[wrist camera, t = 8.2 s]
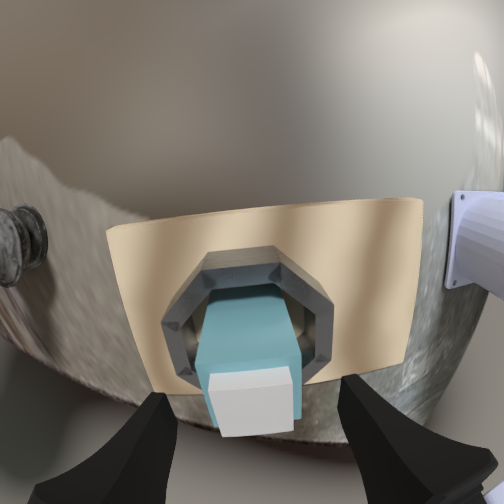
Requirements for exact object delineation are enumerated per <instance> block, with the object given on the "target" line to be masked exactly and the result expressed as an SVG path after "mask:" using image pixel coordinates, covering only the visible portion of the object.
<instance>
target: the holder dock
mask: <svg viewBox="0 0 504 504" xmlns="http://www.w3.org/2000/svg"><path fill="white" fill-rule="evenodd" d="M422 229H423V200H419V199H416V198H385V199H364V200H346V201H331V202H318V203H304V204H291V205H280V206H269V207H260V208H249V209H239V210H230V211H221V212H212V213H205V214H196V215H188V216H180V217H173V218H166V219H158V220H151V221H145V222H138V223H131V224H125V225H119V226H115V227H113V228H111V229H109V230H107V231H106V234H107V239H108V244H109V248H110V253H111V258H112V262H113V266H114V270H115V274H116V278H117V282H118V286H119V290H120V293H121V297H122V300H123V304H124V307H125V311H126V314H127V317H128V320H129V324H130V327H131V330H132V333H133V336H134V339H135V342H136V344H137V347H138V350H139V353H140V356H141V358H142V361H143V364H144V366H145V369H146V371H147V374H148V376H149V379H150V381H151V384H152V386H153V388H154V391H155V392H165V394H203V391H202V388H201V385H200V381H199V378H198V375H197V371H196V368H195V361H196V356H197V351H198V346H199V342H200V337H201V333H202V328H203V323H204V319H205V314H206V310H207V306H208V301H209V297H210V292H211V290H215V289H225V288H235V287H244V286H253V285H262V284H270V283H274V284H276V285H277V286H278V287H280V289H281V292H282V295H283V299H284V302H285V305H286V308H287V311H288V314H289V317H290V320H291V323H292V326H293V329H294V332H295V336H296V339H297V342H298V345H299V348H300V351H301V361H302V386H303V385H306V384H312V383H317V382H323V381H328V380H333V379H338V378H342V376H345V375H350V374H355V373H356V374H361V373H365V372H369V371H373V370H377V369H381V368H385V367H388V366H392V365H395V364H399V363H402V362H403V359H404V355H405V351H406V347H407V342H408V338H409V333H410V328H411V323H412V318H413V312H414V306H415V300H416V293H417V286H418V278H419V269H420V259H421V246H422Z"/></svg>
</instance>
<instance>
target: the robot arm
mask: <svg viewBox="0 0 504 504" xmlns="http://www.w3.org/2000/svg"><path fill="white" fill-rule="evenodd" d="M461 196H462V198H461ZM453 282H454V283H453ZM471 283H476V284H478V285H480V286H481V287H483V288H484V289H486V290H488V291H489V292H491V293H492V294H494V295H496V296H497V297H499V298H500V299H502V300H503V301H504V192H490V191H454V192H453V194H452V209H451V230H450V243H449V253H448V262H447V270H446V277H445V283H444V285H445V287H446V288H447V289H452V288H456V287H460V286H464V285H467V284H471ZM337 409H338V413H339V417H340V420H341V424H342V428H343V430H344V433H345V435H346V438H347V440H348V442H349V445H350V447H351V450H352V452H353V455H354V457H355V459H356V462H357V464H358V467H359V470H360V472H361V476H362V479H363V484H364V487H365V492H366V496H367V500H368V504H504V480H502V481H501V482H500V483H499V484H497V485H496V486H495V487H494V488H492V489H491V490H490V491H488V492H487V493H486V494H484V495H482V493H481V491H482V490H483V489H484V488H483V486H482V484H481V483H482V482H483V481H484V480H485V479H486V478H487V477H488V476H489V475H490V474H491V473H492V472H493V471H494V470H495V469H496V468H497V466H498V462H497V460H496V458H495V457H494V455H493V454H492V453H491V451H490V450H489V449H486V448H481V447H476V446H471V445H467V444H463V443H460V442H457V441H454V440H451V439H448V438H446V437H444V436H441V435H439V434H437V433H434V432H432V431H430V430H428V429H426V428H424V427H423V426H421V425H419V424H418V423H416V422H414V421H413V420H411V419H410V418H408V417H407V416H405V415H404V414H403V413H401V412H400V411H398V410H397V409H396V408H395V407H393V406H392V405H391V404H390V403H388V402H387V401H386V400H385V399H383V398H382V397H381V396H380V395H379V394H378V393H377V392H375V391H374V390H373V389H372V388H371V387H370V386H369V385H368V384H367V383H366V382H365V381H364V380H363V379H362V378H361V377H359V376H358V375H357V374H356V373H355V374H350V375H345V376H342V378H341V386H340V393H339V400H338V406H337ZM177 426H178V422H177V420H176V417H175V415H174V413H173V410H172V408H171V406H170V403H169V401H168V399H167V396H166V394H165V392H151V393H150V394H149V396H148V397H147V398H146V399H145V400H144V402H143V403H142V404H141V405H140V407H139V408H138V409H137V410H136V412H135V413H134V414H133V415H132V416H131V418H130V419H129V420H128V421H127V422H126V423H125V425H124V426H123V427H122V428H121V429H120V430H119V431H118V432H117V433H116V434H115V435H114V436H113V437H112V438H111V439H110V440H109V442H107V443H106V444H105V445H104V446H103V447H102V448H100V449H99V450H98V451H97V452H96V453H94V454H93V455H92V456H91V457H89V458H88V459H87V460H85V461H83V462H82V463H80V464H79V465H77V466H76V467H74V468H72V469H71V470H69V471H67V472H65V473H63V474H61V475H59V476H57V477H55V478H52V479H50V480H47V481H44V482H42V483H39V484H36V485H35V487H34V489H33V492H32V494H31V496H30V499H29V501H28V503H27V504H165V500H166V488H167V482H168V478H169V472H170V468H171V464H172V459H173V455H174V450H175V445H176V439H177Z"/></svg>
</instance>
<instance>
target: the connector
mask: <svg viewBox="0 0 504 504" xmlns="http://www.w3.org/2000/svg"><path fill="white" fill-rule="evenodd" d="M195 368H196V371H197V375H198V378H199V381H200V385H201V388H202V391H203V394H204V398H205V401H206V404H207V407H208V410H209V413H210V416H211V419H212V422H213V425H214V427H219V428H220V432H221V434H222V437H235V436H250V435H261V434H270V433H279V432H286V431H293V430H294V426H293V420H296V419H301V405H302V361H301V351H300V348H299V345H298V342H297V339H296V336H295V332H294V329H293V326H292V323H291V320H290V317H289V314H288V311H287V308H286V305H285V302H284V299H283V295H282V292H281V289H280V287H278V286H277V285H276V284H274V283H270V284H262V285H253V286H244V287H235V288H225V289H215V290H211V292H210V297H209V301H208V306H207V310H206V314H205V319H204V323H203V328H202V333H201V337H200V342H199V346H198V351H197V356H196V361H195Z"/></svg>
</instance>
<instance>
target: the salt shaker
mask: <svg viewBox="0 0 504 504" xmlns="http://www.w3.org/2000/svg"><path fill="white" fill-rule="evenodd" d="M47 246H48V238H47V231H46V227H45V224H44V221H43V219H42V217H41V215H40V214H39V213H38V211H37V210H36V209H35V208H34V207H33V206H31V205H29V204H26V203H23V204H18V205H17V206H15V207H14V208H13V209H12V210H11V211H8V210H5V209H1V208H0V286H2V287H6V288H9V287H13V286H14V285H15V284H16V283H17V282H18V281H19V279H20V277H21V275H22V274H23V272H24V271H25V269H26V268H35V267H38V266H39V265H40V264H41V263H42V262H43V260H44V259H45V257H46V253H47Z"/></svg>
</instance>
